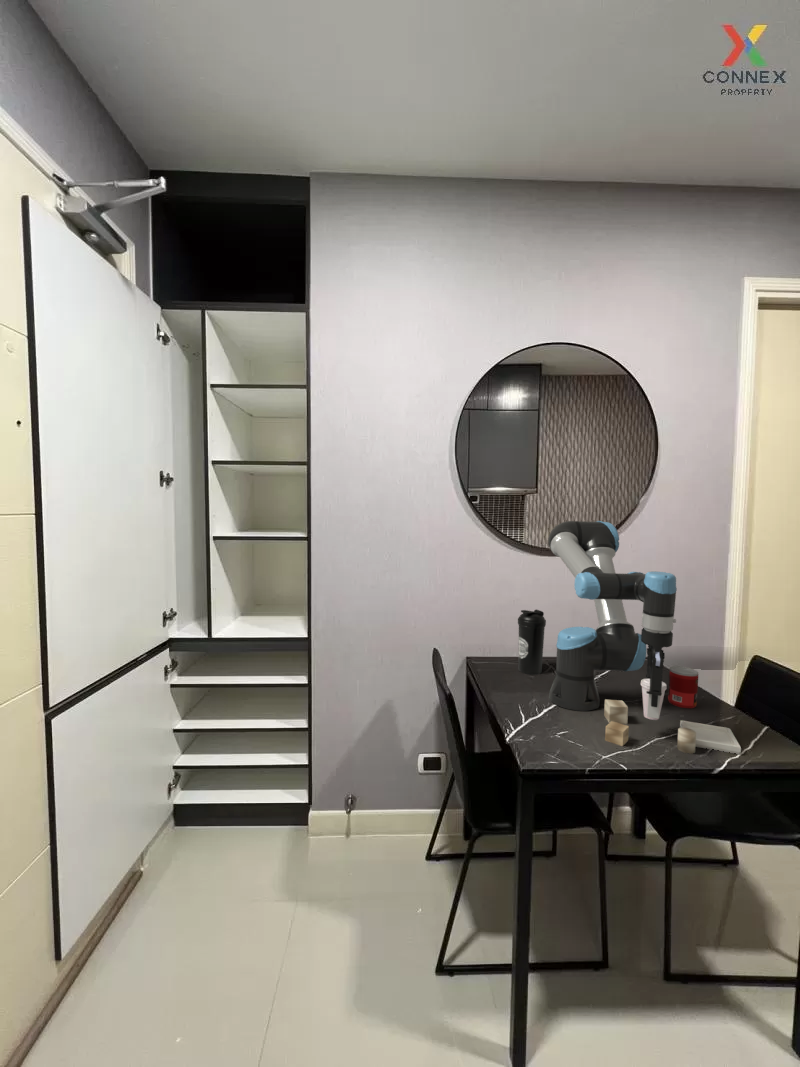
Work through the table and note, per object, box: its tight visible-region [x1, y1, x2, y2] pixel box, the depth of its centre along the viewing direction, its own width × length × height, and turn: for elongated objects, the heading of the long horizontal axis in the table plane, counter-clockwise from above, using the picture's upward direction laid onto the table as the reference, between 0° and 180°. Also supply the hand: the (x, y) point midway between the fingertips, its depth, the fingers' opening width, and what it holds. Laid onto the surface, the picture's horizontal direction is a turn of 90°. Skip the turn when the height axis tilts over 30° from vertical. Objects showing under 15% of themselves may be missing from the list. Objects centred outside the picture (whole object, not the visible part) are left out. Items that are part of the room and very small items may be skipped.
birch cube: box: [603, 698, 629, 725], centre depth 144 cm, size 5×5×5 cm
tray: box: [679, 719, 742, 755], centre depth 133 cm, size 12×12×2 cm
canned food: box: [667, 665, 699, 709], centre depth 157 cm, size 8×8×11 cm
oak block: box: [604, 721, 630, 747], centre depth 131 cm, size 4×4×4 cm
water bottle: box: [517, 609, 547, 676], centre depth 185 cm, size 10×10×23 cm
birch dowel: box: [676, 727, 696, 755], centre depth 127 cm, size 4×4×5 cm
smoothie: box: [640, 678, 668, 721], centre depth 134 cm, size 6×6×14 cm
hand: (651, 711), depth 135 cm, fingers closed on smoothie, 6 cm apart
